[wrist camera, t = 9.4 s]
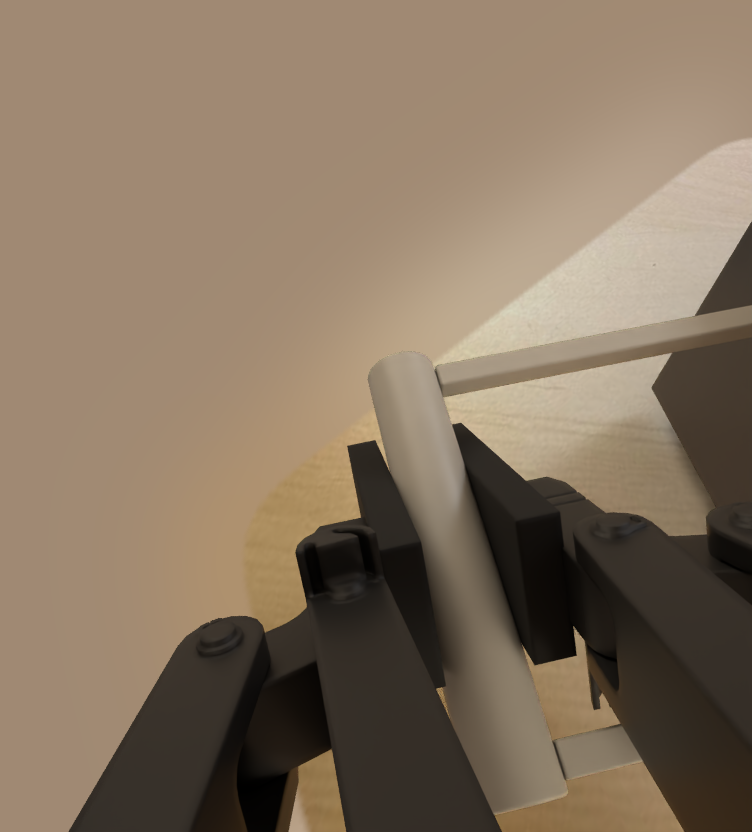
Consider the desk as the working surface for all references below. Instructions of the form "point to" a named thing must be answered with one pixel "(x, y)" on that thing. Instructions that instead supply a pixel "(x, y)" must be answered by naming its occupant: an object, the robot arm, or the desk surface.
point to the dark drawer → (468, 543)
